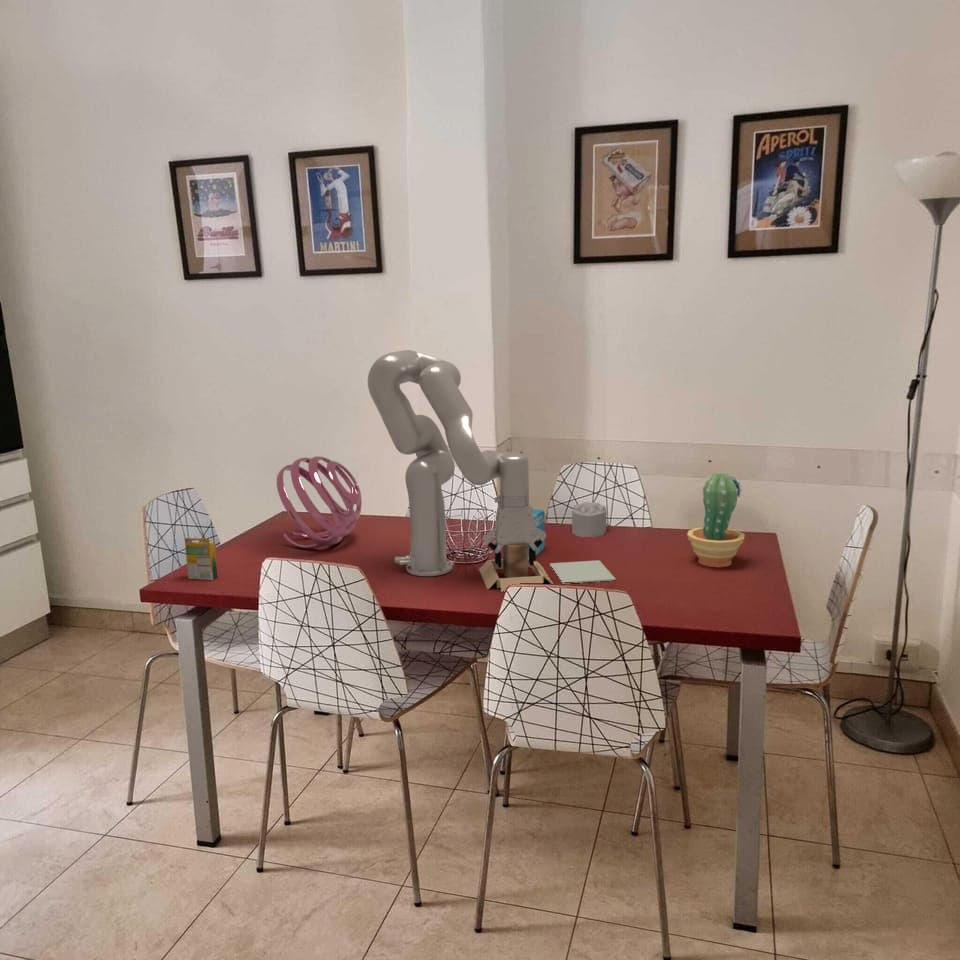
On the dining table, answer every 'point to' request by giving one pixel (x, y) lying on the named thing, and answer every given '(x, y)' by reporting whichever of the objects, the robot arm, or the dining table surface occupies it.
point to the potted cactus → (717, 522)
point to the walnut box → (515, 560)
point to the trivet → (582, 572)
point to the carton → (492, 577)
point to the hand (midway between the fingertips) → (515, 564)
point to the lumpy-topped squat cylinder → (589, 520)
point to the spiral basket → (340, 515)
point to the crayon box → (201, 559)
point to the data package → (540, 524)
